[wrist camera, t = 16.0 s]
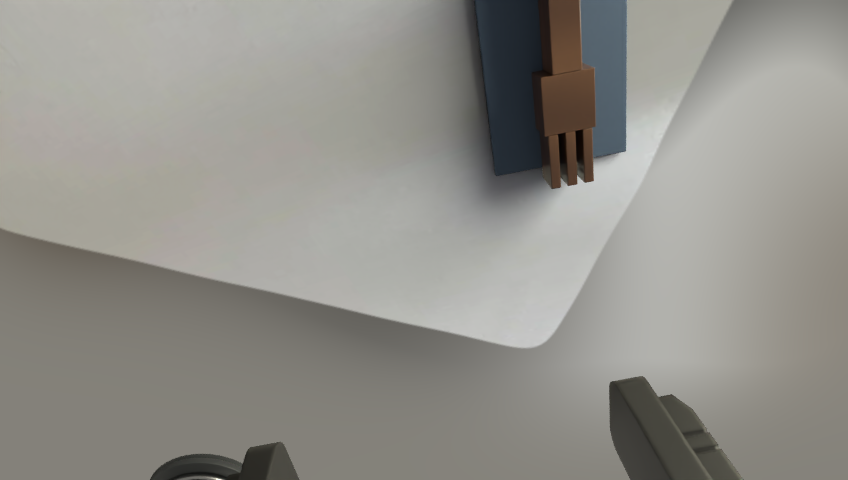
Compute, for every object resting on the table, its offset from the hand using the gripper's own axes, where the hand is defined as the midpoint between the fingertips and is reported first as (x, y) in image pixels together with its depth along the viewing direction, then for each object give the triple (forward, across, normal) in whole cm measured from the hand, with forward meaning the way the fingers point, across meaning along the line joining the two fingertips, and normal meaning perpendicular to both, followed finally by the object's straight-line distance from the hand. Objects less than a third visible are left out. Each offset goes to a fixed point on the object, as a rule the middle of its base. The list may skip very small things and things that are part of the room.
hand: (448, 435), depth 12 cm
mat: (+28, -11, -4) cm, 30 cm away
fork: (+27, -11, -5) cm, 30 cm away
